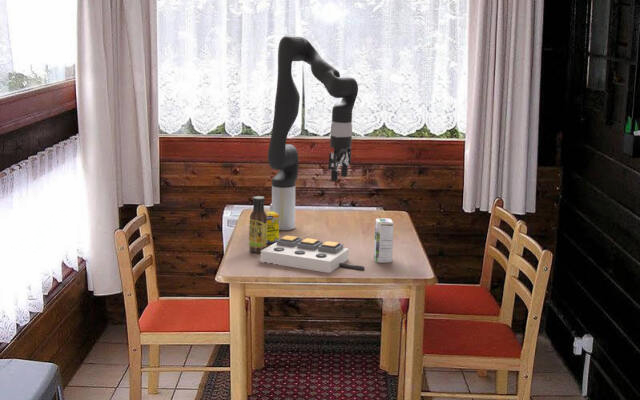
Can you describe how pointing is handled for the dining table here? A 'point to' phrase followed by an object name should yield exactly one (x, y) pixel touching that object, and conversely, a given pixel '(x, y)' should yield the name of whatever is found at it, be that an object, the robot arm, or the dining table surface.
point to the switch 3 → (331, 244)
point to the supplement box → (272, 227)
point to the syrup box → (383, 240)
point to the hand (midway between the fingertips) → (339, 178)
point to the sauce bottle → (258, 226)
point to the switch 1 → (289, 238)
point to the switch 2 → (310, 241)
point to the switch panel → (307, 256)
